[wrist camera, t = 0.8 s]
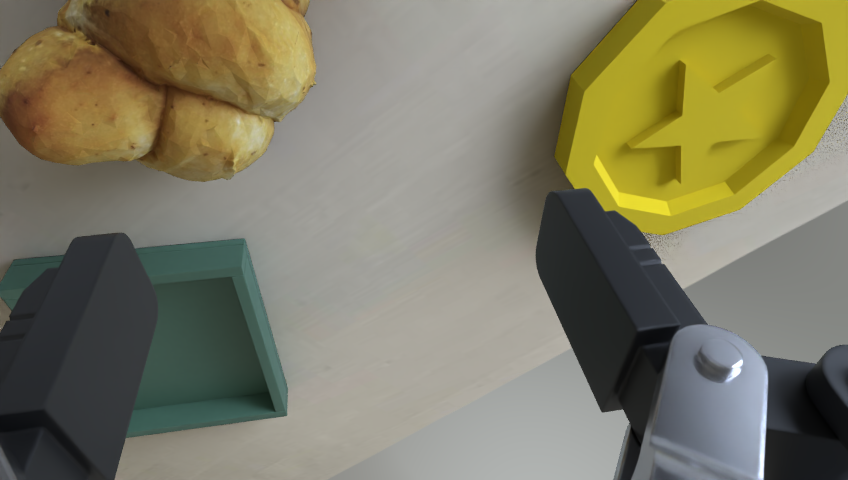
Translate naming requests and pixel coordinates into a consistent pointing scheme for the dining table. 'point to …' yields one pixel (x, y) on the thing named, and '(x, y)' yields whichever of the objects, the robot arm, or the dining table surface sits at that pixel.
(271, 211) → the dining table surface
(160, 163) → the bread roll
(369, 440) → the dining table surface
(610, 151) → the decorative disc
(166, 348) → the tray
